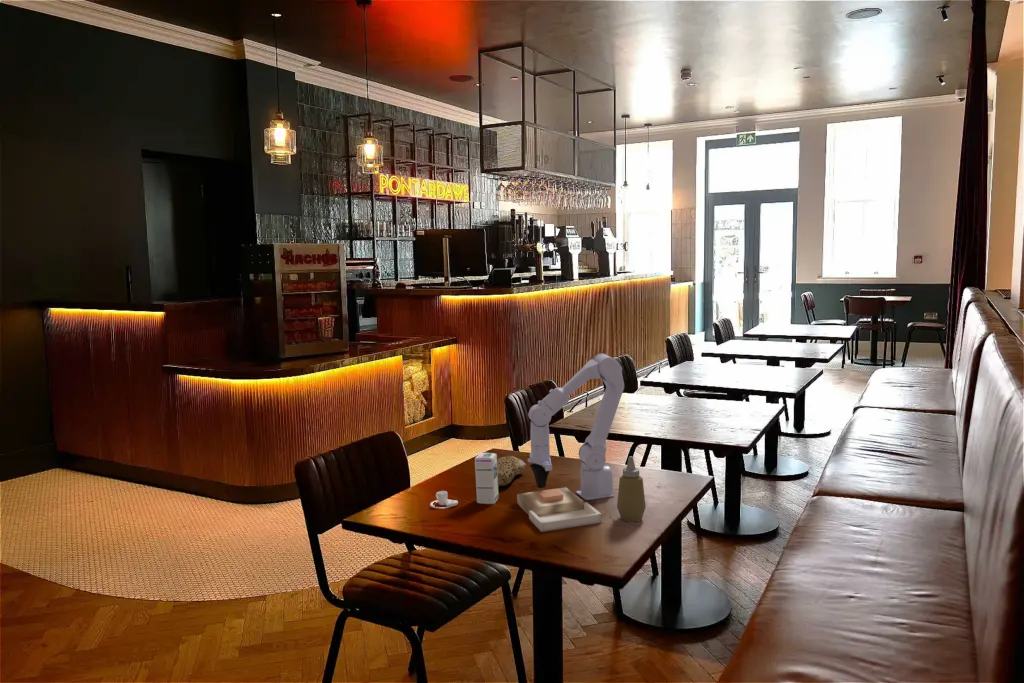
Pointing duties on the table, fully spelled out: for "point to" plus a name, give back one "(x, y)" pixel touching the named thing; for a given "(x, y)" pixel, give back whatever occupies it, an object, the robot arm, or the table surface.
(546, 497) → the tile
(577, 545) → the table surface
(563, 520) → the tray
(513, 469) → the sponge
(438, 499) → the teacup and saucer
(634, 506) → the squeeze bottle
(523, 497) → the platform
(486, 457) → the syrup box
